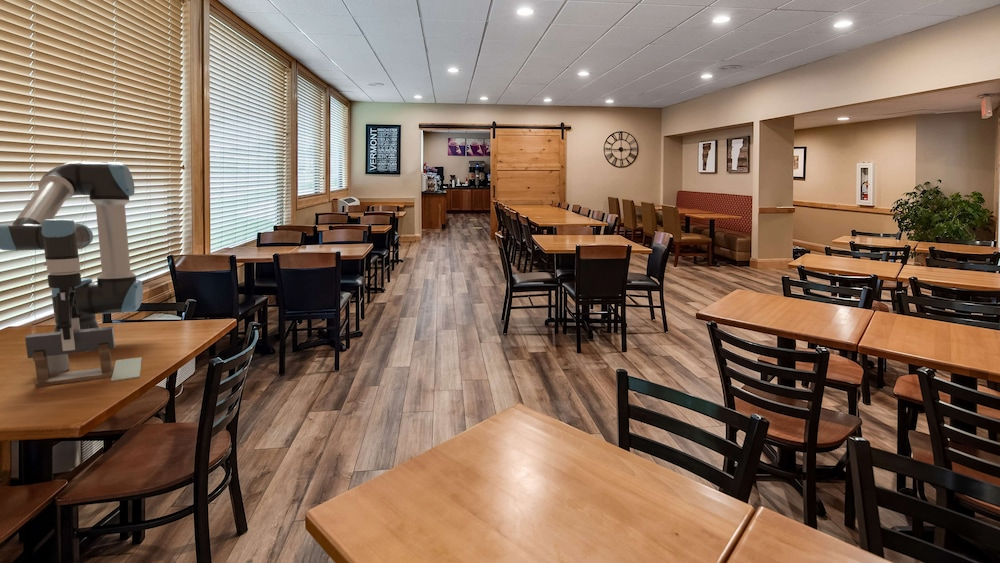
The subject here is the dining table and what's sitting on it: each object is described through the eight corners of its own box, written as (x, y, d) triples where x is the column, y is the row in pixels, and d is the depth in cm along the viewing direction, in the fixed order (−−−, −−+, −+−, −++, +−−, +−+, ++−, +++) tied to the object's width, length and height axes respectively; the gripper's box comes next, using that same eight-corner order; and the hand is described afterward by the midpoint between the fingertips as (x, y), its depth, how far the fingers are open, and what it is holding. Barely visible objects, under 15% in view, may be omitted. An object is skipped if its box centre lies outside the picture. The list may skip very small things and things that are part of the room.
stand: (40, 378, 161) (36, 346, 160) (113, 369, 170) (110, 338, 169) (35, 386, 155) (31, 353, 153) (111, 376, 164) (108, 344, 162)
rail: (30, 354, 158) (28, 334, 157) (115, 345, 168) (113, 326, 167) (27, 358, 154) (25, 337, 153) (114, 348, 165) (112, 329, 164)
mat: (116, 361, 178) (116, 360, 178) (141, 358, 182) (141, 357, 182) (111, 381, 160) (110, 380, 160) (139, 377, 163) (139, 376, 163)
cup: (44, 376, 163) (40, 347, 162) (32, 370, 169) (28, 342, 167) (73, 370, 169) (70, 342, 168) (61, 364, 175) (57, 337, 173)
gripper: (54, 268, 166) (62, 336, 169) (39, 279, 145) (48, 357, 148) (85, 267, 170) (92, 333, 173) (74, 277, 149) (83, 353, 152)
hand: (72, 344), depth 161 cm, fingers open, 13 cm apart
